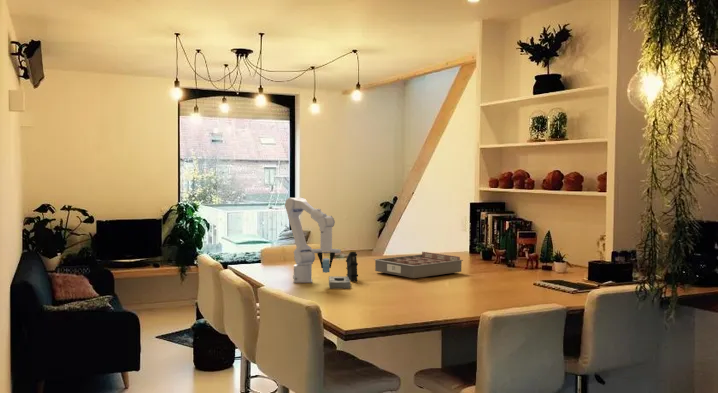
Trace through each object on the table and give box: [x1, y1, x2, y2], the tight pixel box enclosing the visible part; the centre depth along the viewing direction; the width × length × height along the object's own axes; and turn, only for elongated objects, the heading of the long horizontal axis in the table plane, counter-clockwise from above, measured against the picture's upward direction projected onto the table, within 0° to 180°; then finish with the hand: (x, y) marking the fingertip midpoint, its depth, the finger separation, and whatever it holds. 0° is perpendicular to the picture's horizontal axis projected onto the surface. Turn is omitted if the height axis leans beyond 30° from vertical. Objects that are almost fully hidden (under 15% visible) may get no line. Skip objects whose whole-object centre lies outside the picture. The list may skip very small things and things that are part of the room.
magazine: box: [345, 251, 359, 282], centre depth 321 cm, size 4×13×15 cm, turn 14°
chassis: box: [328, 275, 351, 290], centre depth 304 cm, size 10×18×3 cm, turn 4°
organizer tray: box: [373, 251, 464, 279], centre depth 345 cm, size 32×40×10 cm
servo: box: [322, 257, 331, 274], centre depth 302 cm, size 3×10×6 cm, turn 3°
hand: (326, 267), depth 302 cm, fingers closed on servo, 3 cm apart
